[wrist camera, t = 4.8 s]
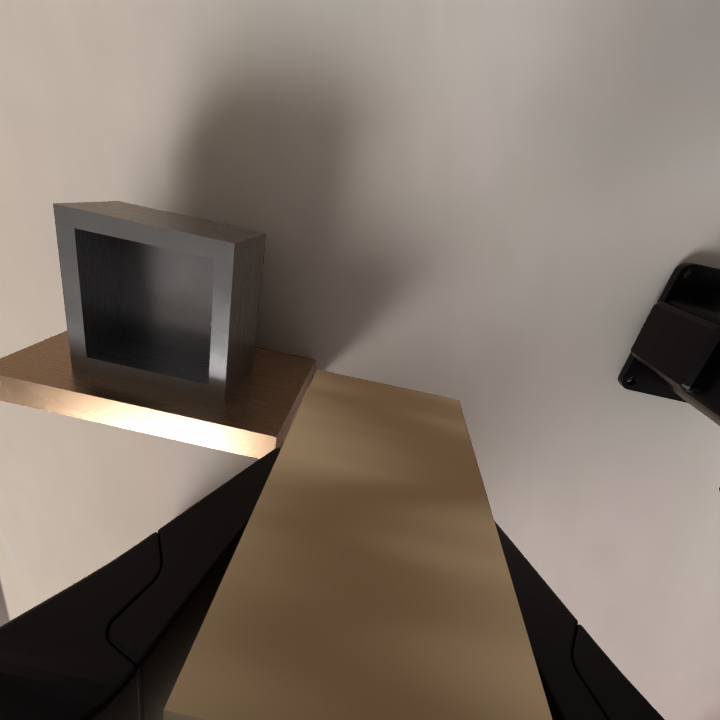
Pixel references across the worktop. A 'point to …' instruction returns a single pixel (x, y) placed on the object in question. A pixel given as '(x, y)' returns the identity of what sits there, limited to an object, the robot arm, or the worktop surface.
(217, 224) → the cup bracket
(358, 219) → the worktop surface
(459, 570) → the rail end
